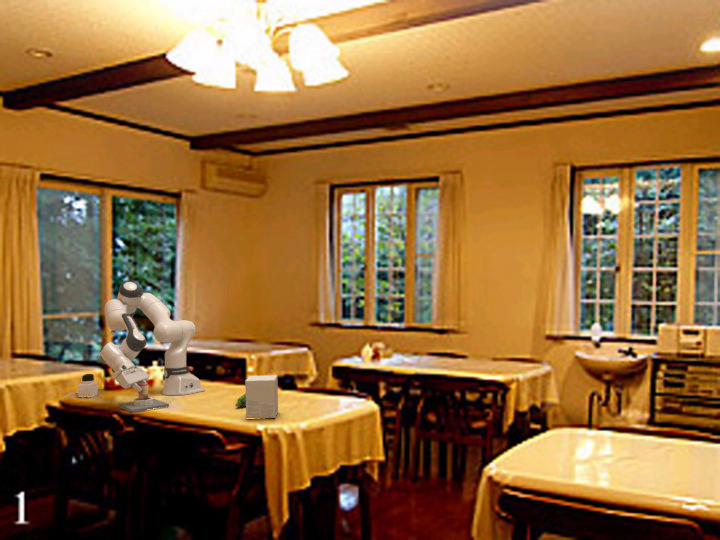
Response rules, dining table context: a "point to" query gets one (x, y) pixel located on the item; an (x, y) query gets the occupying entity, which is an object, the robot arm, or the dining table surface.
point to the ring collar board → (140, 408)
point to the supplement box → (261, 396)
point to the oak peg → (143, 391)
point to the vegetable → (241, 401)
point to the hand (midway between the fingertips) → (144, 389)
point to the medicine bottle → (87, 386)
